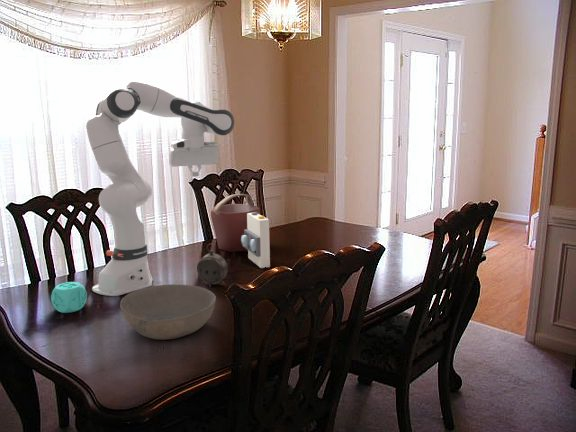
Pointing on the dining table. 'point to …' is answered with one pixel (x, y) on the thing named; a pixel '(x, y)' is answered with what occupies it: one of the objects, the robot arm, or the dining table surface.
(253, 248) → the button lit
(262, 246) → the button panel
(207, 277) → the alarm clock
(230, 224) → the bucket
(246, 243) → the button unlit
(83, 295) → the decorative dice
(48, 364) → the dining table surface
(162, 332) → the bowl
